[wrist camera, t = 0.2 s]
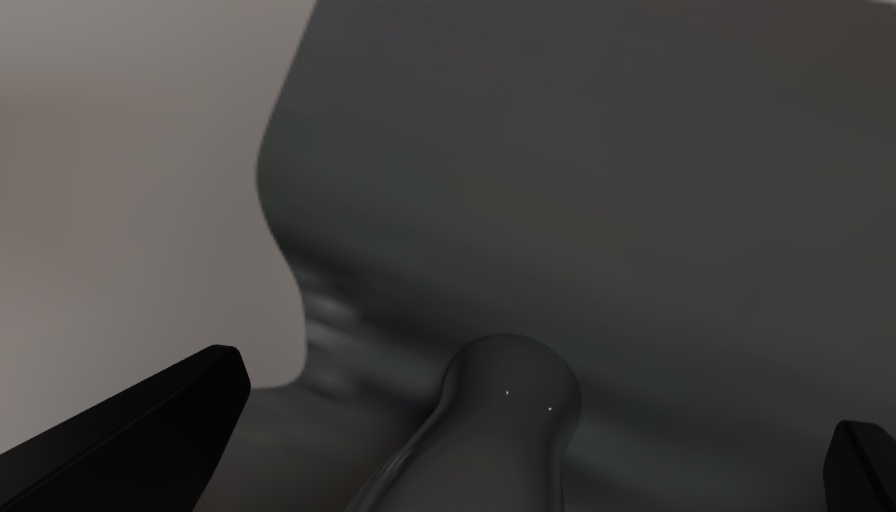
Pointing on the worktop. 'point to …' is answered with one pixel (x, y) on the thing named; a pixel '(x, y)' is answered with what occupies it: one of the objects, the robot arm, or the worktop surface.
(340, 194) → the worktop surface
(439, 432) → the beer glass
